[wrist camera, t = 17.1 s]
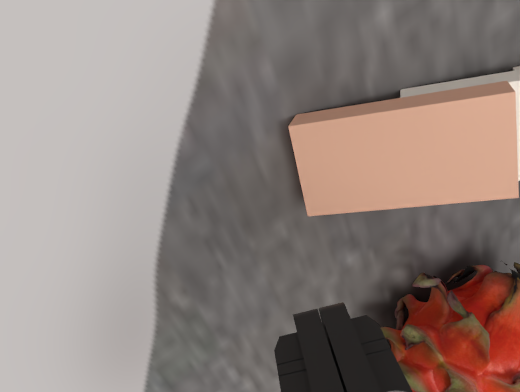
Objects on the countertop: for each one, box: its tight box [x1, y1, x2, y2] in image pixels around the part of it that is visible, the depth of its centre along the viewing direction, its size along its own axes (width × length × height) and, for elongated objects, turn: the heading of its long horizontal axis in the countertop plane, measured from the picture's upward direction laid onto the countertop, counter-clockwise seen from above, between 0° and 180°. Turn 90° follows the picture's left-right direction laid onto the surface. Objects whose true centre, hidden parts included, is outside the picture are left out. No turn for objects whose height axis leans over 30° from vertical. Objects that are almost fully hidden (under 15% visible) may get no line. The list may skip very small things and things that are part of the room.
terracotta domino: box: [288, 81, 519, 216], centre depth 24 cm, size 2×5×10 cm
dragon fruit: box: [381, 261, 520, 392], centre depth 28 cm, size 8×8×12 cm
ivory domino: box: [400, 70, 520, 181], centre depth 24 cm, size 2×5×10 cm
